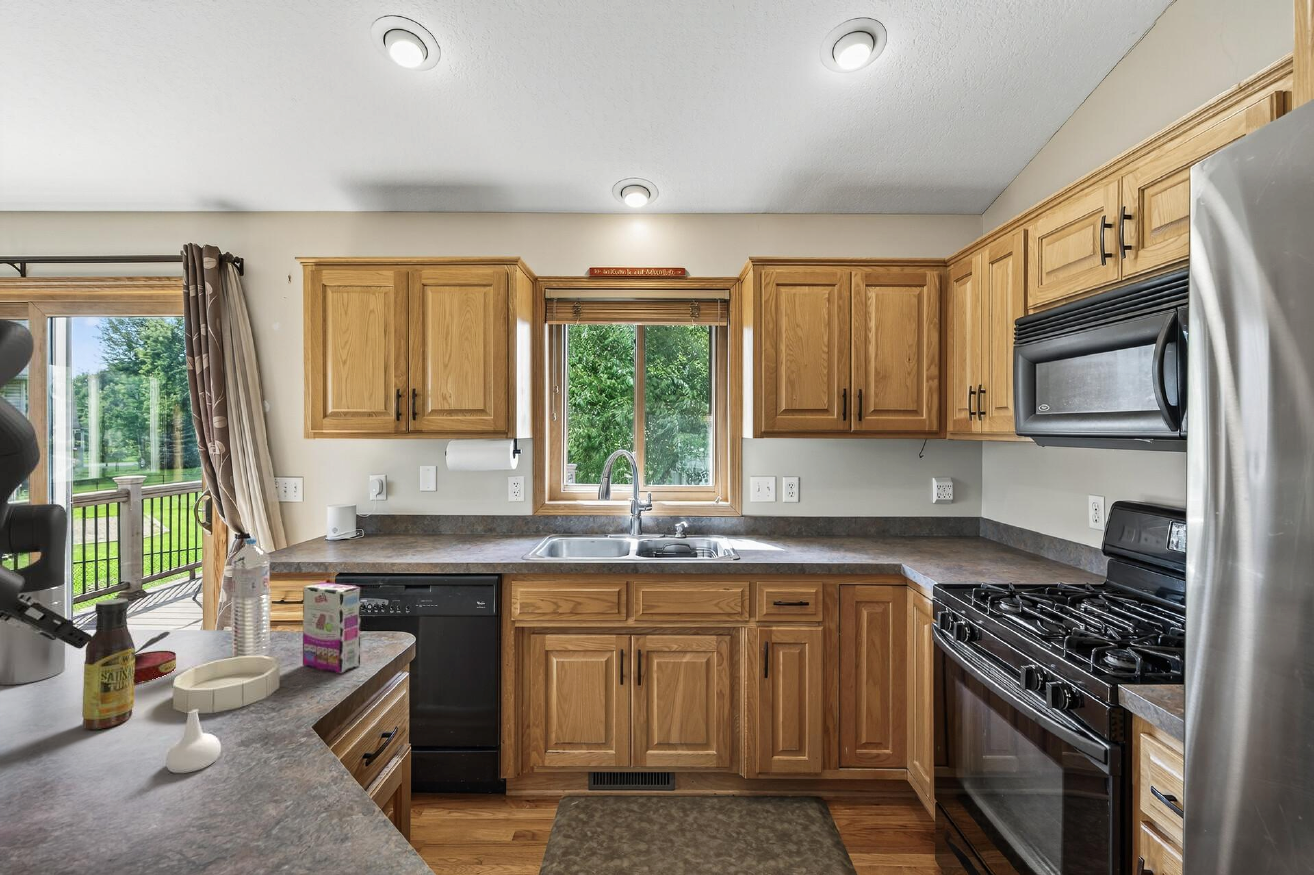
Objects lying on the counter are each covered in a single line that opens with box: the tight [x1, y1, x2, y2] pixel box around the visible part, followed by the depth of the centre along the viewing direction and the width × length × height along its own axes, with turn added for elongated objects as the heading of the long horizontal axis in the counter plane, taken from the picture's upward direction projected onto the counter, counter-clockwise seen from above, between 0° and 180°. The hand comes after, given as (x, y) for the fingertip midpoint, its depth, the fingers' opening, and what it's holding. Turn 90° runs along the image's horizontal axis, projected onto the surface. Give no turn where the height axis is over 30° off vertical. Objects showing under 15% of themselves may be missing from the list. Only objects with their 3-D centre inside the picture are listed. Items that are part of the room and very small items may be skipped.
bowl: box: [172, 655, 280, 715], centre depth 110 cm, size 16×16×4 cm
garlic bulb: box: [165, 709, 222, 774], centre depth 88 cm, size 6×6×8 cm
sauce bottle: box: [81, 598, 136, 730], centre depth 99 cm, size 7×6×20 cm
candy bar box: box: [302, 581, 362, 674], centre depth 124 cm, size 11×5×16 cm, turn 68°
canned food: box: [134, 631, 177, 684], centre depth 119 cm, size 11×10×10 cm
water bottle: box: [230, 538, 271, 658], centre depth 128 cm, size 7×7×25 cm
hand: (72, 638), depth 95 cm, fingers open, 8 cm apart
